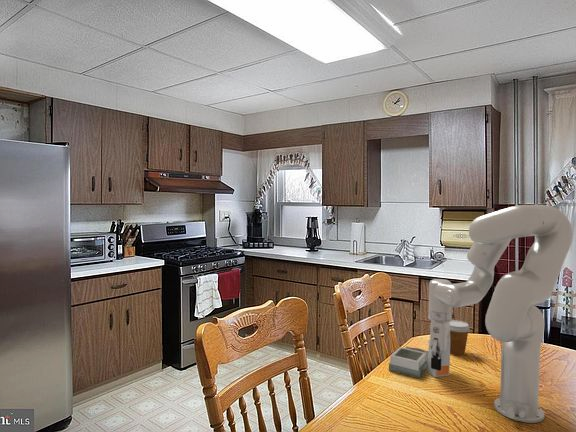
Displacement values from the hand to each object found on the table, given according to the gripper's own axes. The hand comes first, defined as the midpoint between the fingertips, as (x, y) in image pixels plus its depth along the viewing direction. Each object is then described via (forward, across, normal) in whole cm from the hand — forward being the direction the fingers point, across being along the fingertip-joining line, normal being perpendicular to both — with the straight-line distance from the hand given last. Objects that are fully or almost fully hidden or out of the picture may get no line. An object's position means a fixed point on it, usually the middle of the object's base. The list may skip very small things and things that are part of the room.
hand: (438, 365), depth 138 cm
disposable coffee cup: (+4, +24, -1) cm, 24 cm away
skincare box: (+3, 0, 0) cm, 3 cm away
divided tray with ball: (+3, +3, +10) cm, 11 cm away
